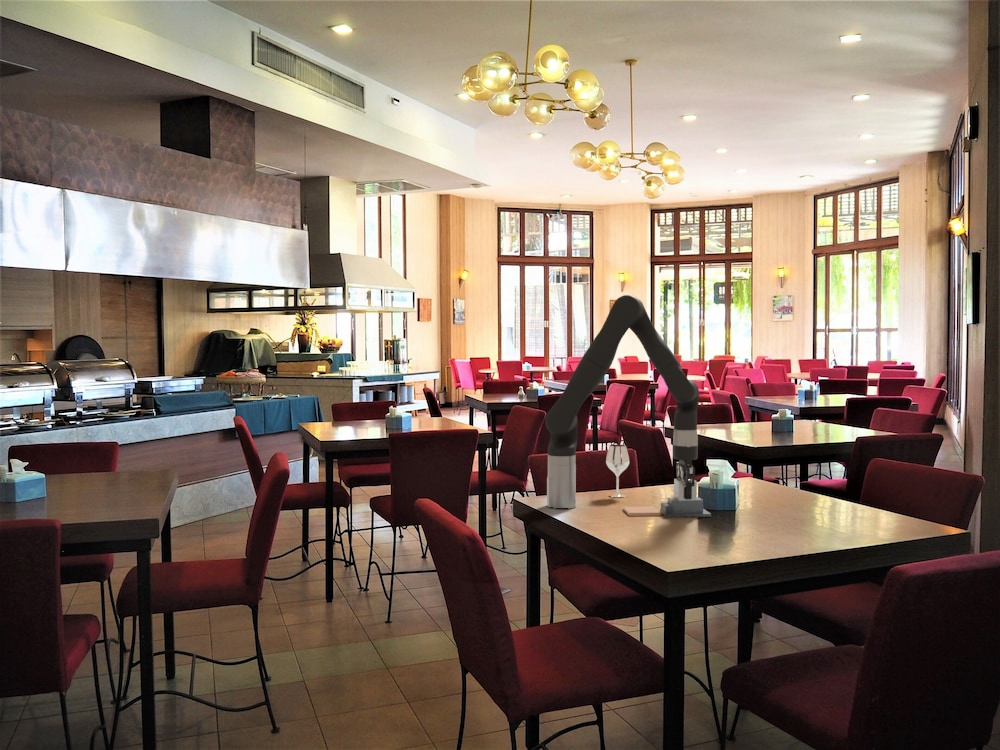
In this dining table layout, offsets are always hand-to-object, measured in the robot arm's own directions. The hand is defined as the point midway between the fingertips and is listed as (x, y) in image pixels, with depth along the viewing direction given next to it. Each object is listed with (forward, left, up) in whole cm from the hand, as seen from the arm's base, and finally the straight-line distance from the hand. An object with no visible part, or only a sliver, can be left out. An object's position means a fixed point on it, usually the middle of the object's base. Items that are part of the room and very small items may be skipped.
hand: (685, 497), depth 267 cm
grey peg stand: (0, 0, -5) cm, 5 cm away
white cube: (0, 0, 0) cm, 0 cm away
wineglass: (-15, +34, -6) cm, 38 cm away
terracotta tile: (-13, +4, -5) cm, 15 cm away
